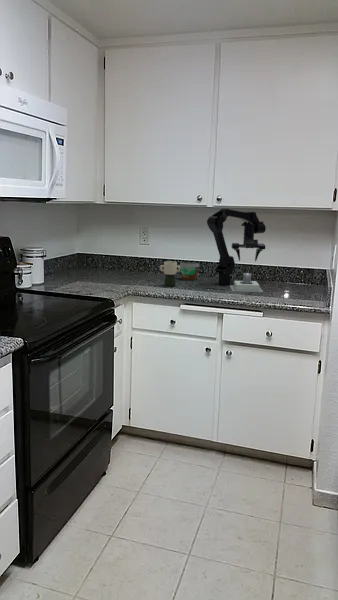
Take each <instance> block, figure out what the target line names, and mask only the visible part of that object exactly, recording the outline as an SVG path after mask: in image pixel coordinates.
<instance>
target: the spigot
mask: <svg viewBox="0 0 338 600" xmlns="http://www.w3.org/2000/svg"><path fill="white" fill-rule="evenodd" d="M241 281H242V284H251V281H252V273H251V272H243V273H242V280H241Z"/></svg>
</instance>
